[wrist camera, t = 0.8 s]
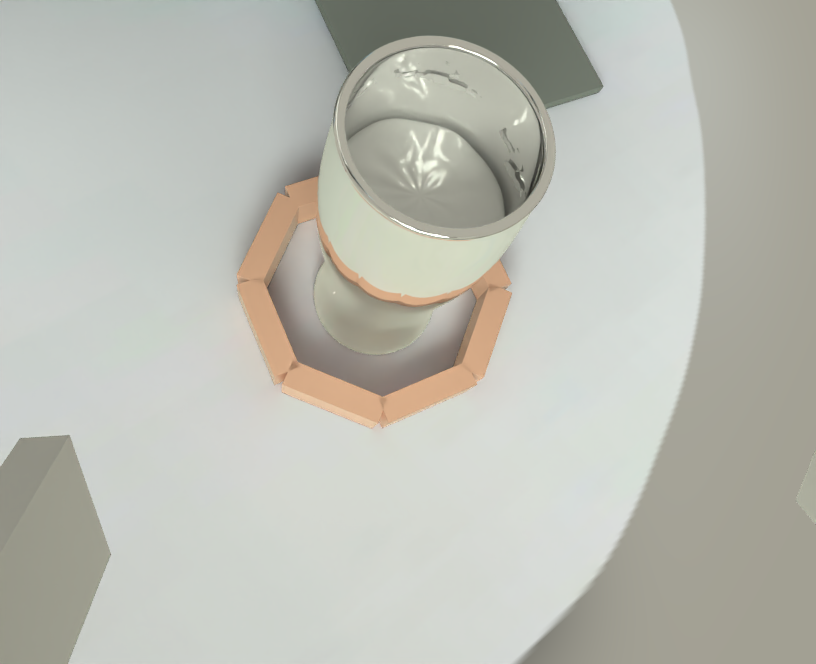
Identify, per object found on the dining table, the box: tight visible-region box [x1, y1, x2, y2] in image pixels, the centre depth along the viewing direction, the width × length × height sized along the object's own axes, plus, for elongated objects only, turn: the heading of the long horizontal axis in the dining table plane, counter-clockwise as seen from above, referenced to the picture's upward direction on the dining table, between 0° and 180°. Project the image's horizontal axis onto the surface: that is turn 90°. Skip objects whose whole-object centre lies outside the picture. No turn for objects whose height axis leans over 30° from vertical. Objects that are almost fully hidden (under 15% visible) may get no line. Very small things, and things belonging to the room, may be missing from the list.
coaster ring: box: [237, 176, 512, 428], centre depth 31 cm, size 12×12×2 cm
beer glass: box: [314, 36, 556, 355], centre depth 25 cm, size 7×7×15 cm
